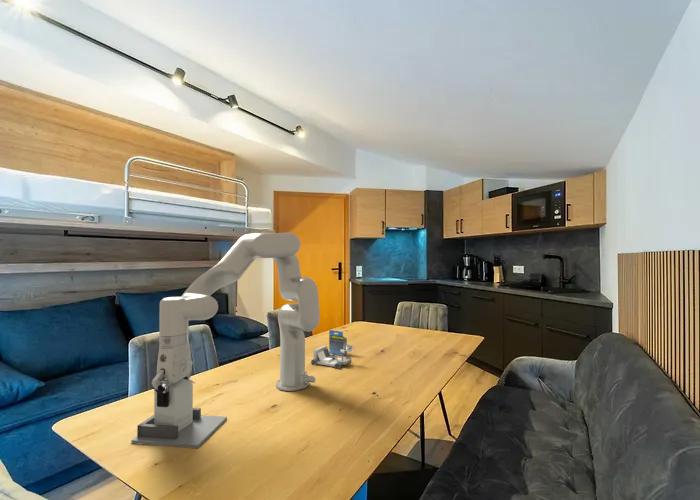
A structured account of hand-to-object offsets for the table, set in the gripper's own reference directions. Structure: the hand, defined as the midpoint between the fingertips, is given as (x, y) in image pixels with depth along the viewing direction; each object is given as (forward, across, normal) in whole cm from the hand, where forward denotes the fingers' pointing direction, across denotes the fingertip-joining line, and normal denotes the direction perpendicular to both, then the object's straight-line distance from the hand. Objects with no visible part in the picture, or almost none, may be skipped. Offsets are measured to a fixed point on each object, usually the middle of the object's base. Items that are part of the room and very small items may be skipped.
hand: (173, 399), depth 100 cm
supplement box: (+8, 0, 0) cm, 8 cm away
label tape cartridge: (+10, +83, -35) cm, 90 cm away
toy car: (+10, +66, -36) cm, 76 cm away
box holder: (+9, 0, -3) cm, 9 cm away
